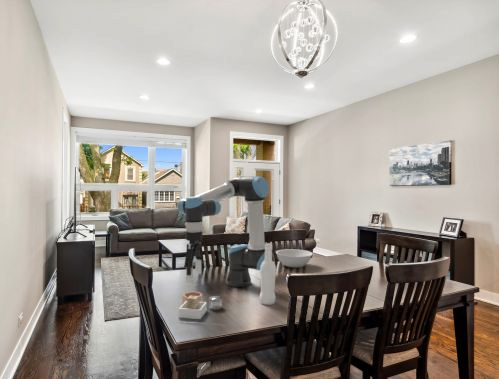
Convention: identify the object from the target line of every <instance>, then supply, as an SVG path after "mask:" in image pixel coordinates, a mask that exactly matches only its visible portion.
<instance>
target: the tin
mask: <svg viewBox="0 0 499 379" xmlns="http://www.w3.org/2000/svg"><path fill="white" fill-rule="evenodd" d="M222 300H223V297H222V296H220V295H211V296H209V297H208V308H209V309H210V310H213V311H214V310H215V311H217V310H220V309H222V307H223V306H222V305H223V301H222Z"/></svg>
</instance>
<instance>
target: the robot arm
mask: <svg viewBox="0 0 499 379" xmlns="http://www.w3.org/2000/svg"><path fill="white" fill-rule="evenodd" d="M269 191H270V186H269V183H268V181H267V179H266V178H265V177H263V176H256V175H255V176H254V175H253V176H252V175H251V176H242V175H241V176H237V177H234V178H232V179H228V180H227V181H224V182H223V183H221V185H219V186H216V187H214V188H212V189H210V190H207V191H204V192H203V193H200V194H197V195H195V196H187V197H186V198H182V199H180V200H179V201H178V203H177V210H178V212H179V213H181V214H182V215H183V214H184V215H185V223H184V226H185V231H186V232H185V240H186V241H189V243H187V244H186V252H185V259H184V265H183V267H184V268H185V271H186V272H185V275H186V276H185V277H186V278H185V280H186V281H185V282H186V283H194V278H193V277H194V273H195V274H197V275H198V274H199V275H200V274H202V260H204V255H203V247H202V240H203V225H204V224H203V217H210V216H212V217H213V216H216V215H218V214H220V213H221V209H222V204H221V203H220V201H222V200H225V199H230V198H233V197H243V198H244V201H245V202H246V203H247V216H248V234H249V235H248V236H249V244H235V245H231V246H230V247H229V253H228V255H229V256H228V258H229V259H228V262H229V263H228V273H227V274H226V279H225V284H226V285H227V286H230V287H235V288H236V287H237V288H239V287H241V288H243V287H249V286H250V285H252V278H251V275H250V272H249V269H251V270H255V271H256V270H257V271H260V267H261V264H262V262H263V261H264V260H265V244H266V243H265V226H264V225H265V224H264V222H265V221H264V203H263V202H264V201H265V202H266V197H268V195H269V193H270V192H269ZM194 258H195V267H194V268H195V272H194V271H193V270H194V268H193V264H194Z"/></svg>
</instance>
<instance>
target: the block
mask: <svg viewBox="0 0 499 379" xmlns="http://www.w3.org/2000/svg"><path fill="white" fill-rule="evenodd" d="M198 304H199V296H191V295H190V296H189V297H188V298H187V309H198Z"/></svg>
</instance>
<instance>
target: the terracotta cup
mask: <svg viewBox="0 0 499 379" xmlns="http://www.w3.org/2000/svg"><path fill="white" fill-rule="evenodd" d="M190 295H191V296H199V302H203V293H201V292H199V291H188V292H184V293H183V294H182V297H181V298H182V300H181V301H182V302H181V303H182V304H181V306H182V305H183V304H184V302H185V301H187V298H188V297H189V296H190Z"/></svg>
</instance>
